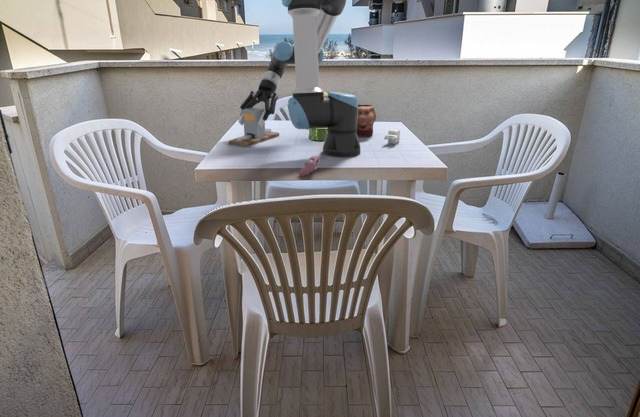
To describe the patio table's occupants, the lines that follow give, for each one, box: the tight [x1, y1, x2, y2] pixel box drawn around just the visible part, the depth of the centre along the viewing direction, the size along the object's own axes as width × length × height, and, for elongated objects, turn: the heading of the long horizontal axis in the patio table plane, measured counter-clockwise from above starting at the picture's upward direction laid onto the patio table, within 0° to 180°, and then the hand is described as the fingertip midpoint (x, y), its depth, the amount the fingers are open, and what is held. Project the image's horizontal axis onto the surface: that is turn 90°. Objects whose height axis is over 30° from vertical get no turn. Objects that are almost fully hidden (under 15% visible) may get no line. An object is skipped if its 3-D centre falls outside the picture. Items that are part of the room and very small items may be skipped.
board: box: [228, 131, 280, 148], centre depth 185 cm, size 24×10×2 cm, turn 151°
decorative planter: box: [357, 103, 377, 137], centre depth 195 cm, size 20×12×14 cm, turn 1°
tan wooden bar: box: [236, 128, 272, 142], centre depth 185 cm, size 22×2×2 cm, turn 151°
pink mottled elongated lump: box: [298, 155, 321, 177], centre depth 140 cm, size 10×5×7 cm, turn 169°
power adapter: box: [384, 128, 401, 145], centre depth 179 cm, size 11×5×6 cm, turn 152°
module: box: [243, 107, 266, 139], centre depth 182 cm, size 6×7×12 cm
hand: (249, 124), depth 180 cm, fingers open, 10 cm apart
